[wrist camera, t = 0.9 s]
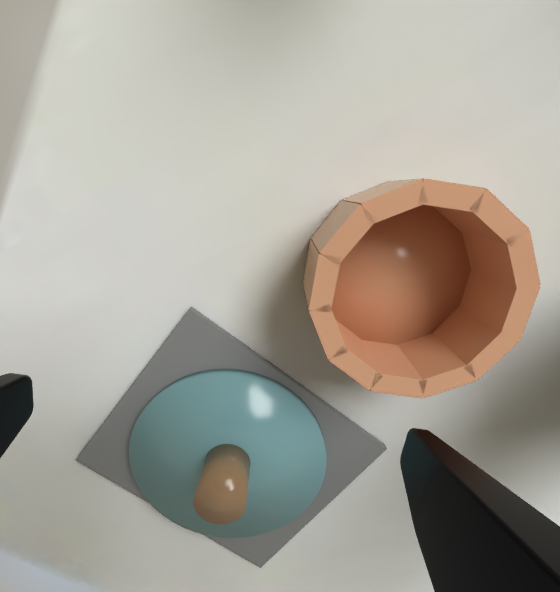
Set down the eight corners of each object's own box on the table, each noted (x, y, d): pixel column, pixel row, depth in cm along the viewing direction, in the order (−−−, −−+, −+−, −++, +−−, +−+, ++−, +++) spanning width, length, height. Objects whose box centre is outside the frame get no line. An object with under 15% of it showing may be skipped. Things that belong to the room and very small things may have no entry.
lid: (365, 441, 24) (380, 490, 20) (248, 554, 27) (242, 615, 23) (205, 329, 21) (189, 360, 18) (98, 466, 24) (64, 517, 21)
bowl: (513, 259, 20) (584, 281, 16) (393, 379, 23) (423, 430, 18) (387, 143, 19) (423, 128, 14) (271, 286, 21) (267, 315, 16)
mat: (385, 444, 24) (386, 448, 24) (260, 562, 27) (260, 567, 27) (191, 306, 21) (189, 308, 21) (78, 455, 25) (75, 459, 24)
